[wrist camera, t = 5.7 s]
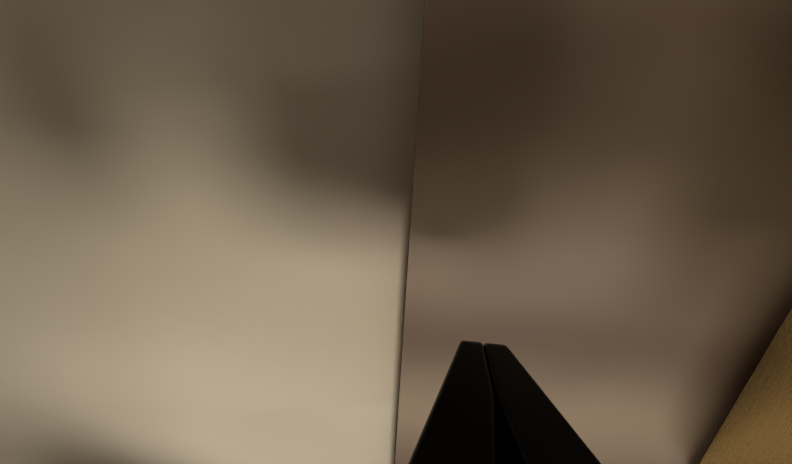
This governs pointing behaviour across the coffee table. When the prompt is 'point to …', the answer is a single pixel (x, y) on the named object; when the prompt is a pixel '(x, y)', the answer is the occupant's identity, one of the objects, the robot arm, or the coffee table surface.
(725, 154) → the hinge board
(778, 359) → the block
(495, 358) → the robot arm
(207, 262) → the coffee table surface
